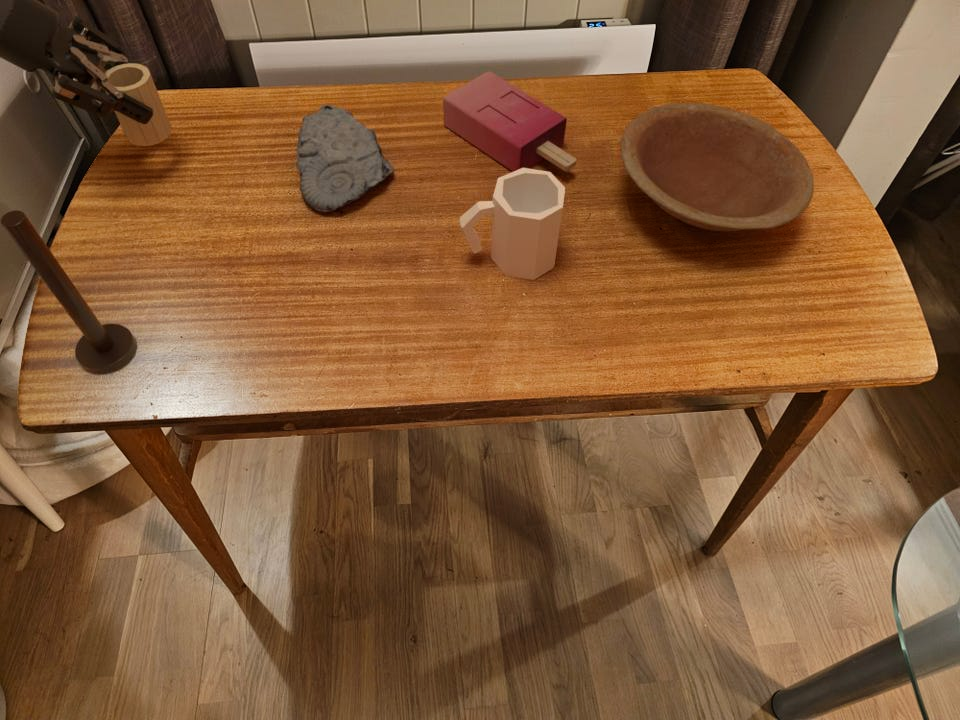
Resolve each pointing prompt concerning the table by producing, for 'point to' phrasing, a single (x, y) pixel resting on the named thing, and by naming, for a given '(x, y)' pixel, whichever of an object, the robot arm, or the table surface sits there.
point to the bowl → (716, 167)
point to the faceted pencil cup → (141, 88)
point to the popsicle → (507, 123)
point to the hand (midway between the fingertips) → (151, 101)
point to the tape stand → (73, 302)
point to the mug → (521, 222)
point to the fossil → (337, 159)
